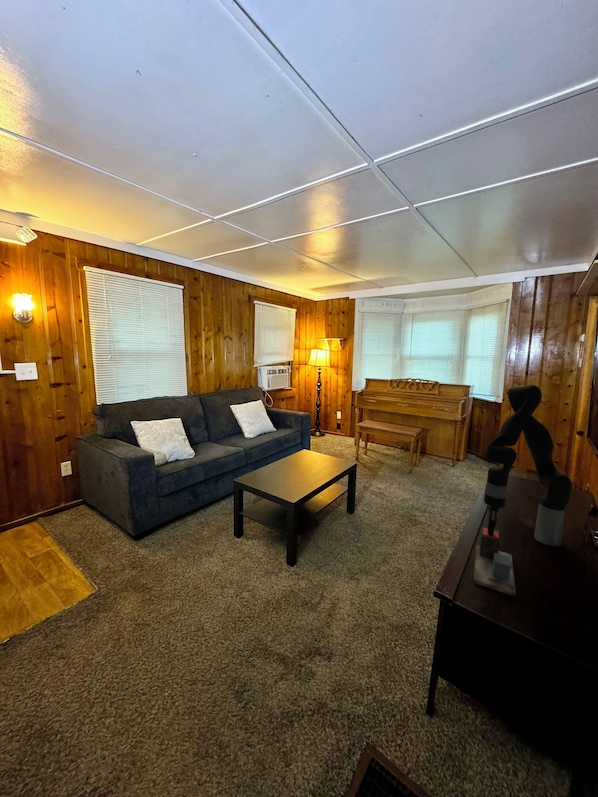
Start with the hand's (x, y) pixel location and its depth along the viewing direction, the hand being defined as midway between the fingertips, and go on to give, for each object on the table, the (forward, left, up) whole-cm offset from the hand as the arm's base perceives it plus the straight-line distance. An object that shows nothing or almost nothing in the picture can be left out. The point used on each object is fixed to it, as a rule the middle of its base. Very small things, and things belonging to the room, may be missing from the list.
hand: (490, 532), depth 133 cm
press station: (-2, +8, -11) cm, 14 cm away
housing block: (-4, +12, -9) cm, 16 cm away
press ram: (0, 0, -7) cm, 7 cm away
